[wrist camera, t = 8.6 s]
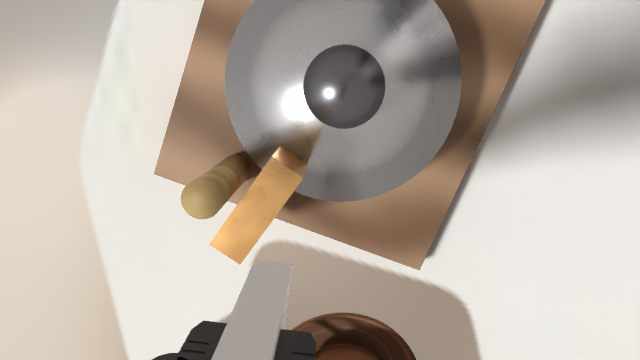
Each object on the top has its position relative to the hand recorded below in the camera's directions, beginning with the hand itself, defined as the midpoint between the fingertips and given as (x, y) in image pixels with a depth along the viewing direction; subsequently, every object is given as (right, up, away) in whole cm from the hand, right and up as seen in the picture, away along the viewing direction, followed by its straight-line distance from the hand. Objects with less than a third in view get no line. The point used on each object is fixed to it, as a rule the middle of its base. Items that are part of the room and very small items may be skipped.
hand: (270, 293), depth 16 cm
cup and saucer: (+4, -11, +17) cm, 21 cm away
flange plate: (+2, +9, +10) cm, 14 cm away
